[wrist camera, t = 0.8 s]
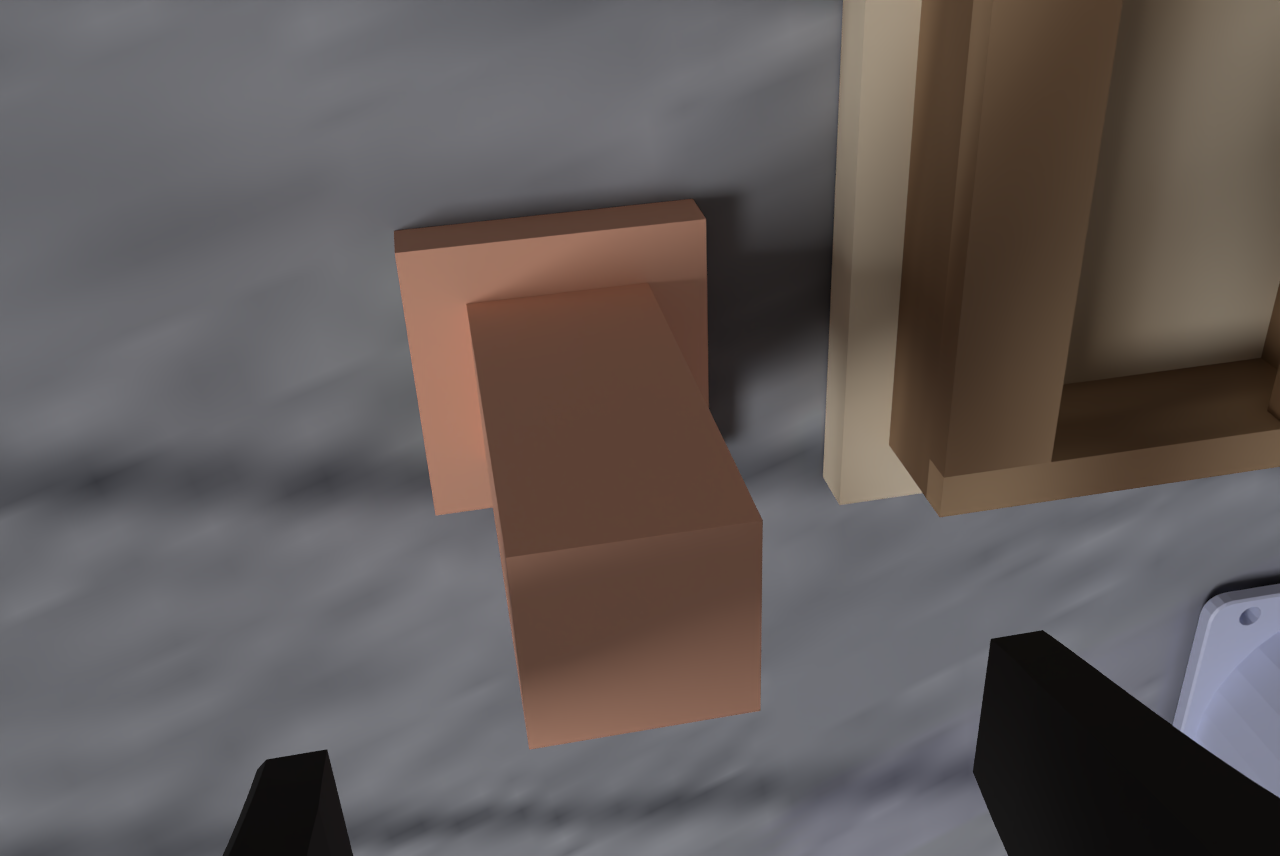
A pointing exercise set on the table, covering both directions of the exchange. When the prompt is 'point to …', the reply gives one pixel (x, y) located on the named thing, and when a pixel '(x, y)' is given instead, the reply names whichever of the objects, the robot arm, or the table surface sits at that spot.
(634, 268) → the key peg
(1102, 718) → the robot arm
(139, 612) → the table surface
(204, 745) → the table surface
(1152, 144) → the keyhole board
